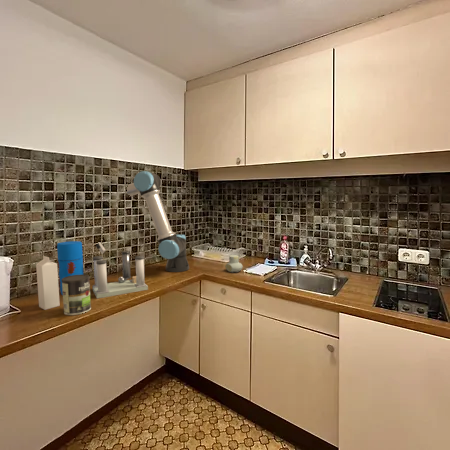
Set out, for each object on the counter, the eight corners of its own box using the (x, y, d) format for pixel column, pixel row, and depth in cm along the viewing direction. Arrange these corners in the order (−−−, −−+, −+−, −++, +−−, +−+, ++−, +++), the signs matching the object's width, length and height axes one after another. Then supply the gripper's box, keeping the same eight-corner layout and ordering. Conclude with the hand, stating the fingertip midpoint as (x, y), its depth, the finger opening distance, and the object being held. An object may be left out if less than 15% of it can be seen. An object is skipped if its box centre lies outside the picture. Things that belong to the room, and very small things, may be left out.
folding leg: (124, 276, 161) (123, 250, 160) (132, 277, 161) (131, 250, 159) (116, 282, 150) (115, 254, 149) (124, 282, 150) (123, 254, 149)
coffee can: (96, 306, 123) (94, 274, 122) (79, 316, 113) (77, 281, 112) (75, 305, 125) (73, 273, 124) (57, 314, 115) (55, 280, 114)
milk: (53, 303, 128) (50, 254, 126) (59, 305, 125) (57, 256, 123) (38, 307, 123) (35, 256, 122) (44, 310, 120) (41, 258, 118)
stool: (139, 281, 160) (138, 251, 158) (147, 289, 146) (146, 256, 144) (92, 289, 147) (90, 256, 145) (97, 298, 133) (95, 262, 132)
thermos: (60, 297, 136) (57, 245, 133) (59, 291, 145) (56, 242, 142) (85, 293, 141) (83, 243, 139) (83, 287, 150) (80, 240, 148)
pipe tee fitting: (244, 272, 179) (244, 256, 178) (234, 274, 174) (233, 258, 173) (233, 268, 188) (233, 253, 187) (223, 270, 183) (223, 255, 182)
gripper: (91, 225, 181) (110, 254, 174) (71, 227, 170) (90, 257, 163) (96, 217, 178) (115, 246, 171) (76, 218, 166) (96, 249, 160)
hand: (103, 251), depth 167 cm, fingers closed
